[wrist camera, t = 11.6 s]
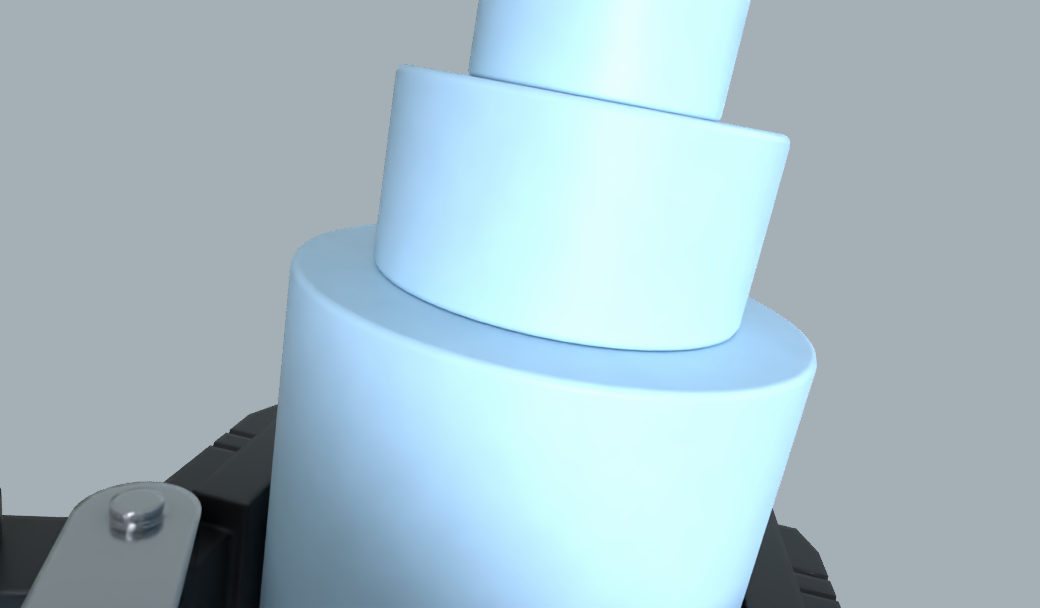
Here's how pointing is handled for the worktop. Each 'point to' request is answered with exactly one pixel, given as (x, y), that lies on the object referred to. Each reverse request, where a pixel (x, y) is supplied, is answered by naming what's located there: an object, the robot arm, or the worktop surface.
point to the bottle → (543, 333)
